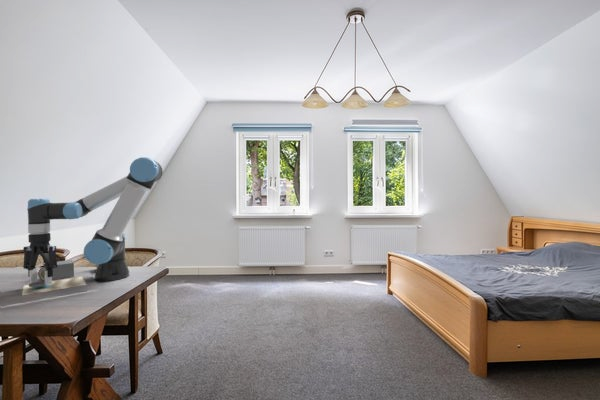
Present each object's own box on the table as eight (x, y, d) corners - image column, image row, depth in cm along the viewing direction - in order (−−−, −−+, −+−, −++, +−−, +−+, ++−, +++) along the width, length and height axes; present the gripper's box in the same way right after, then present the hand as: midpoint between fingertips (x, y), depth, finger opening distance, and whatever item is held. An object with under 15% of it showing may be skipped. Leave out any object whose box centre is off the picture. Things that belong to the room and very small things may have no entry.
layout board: (82, 278, 155) (82, 276, 155) (86, 286, 140) (86, 284, 140) (23, 287, 140) (23, 285, 140) (22, 297, 126) (22, 295, 126)
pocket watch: (26, 288, 131) (25, 265, 131) (32, 283, 139) (31, 261, 138) (50, 285, 135) (49, 263, 135) (55, 281, 143) (54, 259, 142)
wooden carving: (42, 271, 170) (42, 253, 170) (52, 269, 175) (51, 252, 174) (61, 274, 164) (60, 255, 164) (70, 272, 168) (70, 254, 168)
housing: (72, 274, 162) (72, 259, 162) (74, 278, 155) (73, 262, 155) (48, 278, 156) (47, 262, 156) (48, 282, 148) (48, 266, 148)
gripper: (67, 232, 139) (68, 282, 140) (27, 232, 141) (28, 281, 141) (52, 234, 132) (53, 286, 132) (10, 234, 133) (12, 286, 134)
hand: (40, 284), depth 137 cm, fingers closed on pocket watch, 7 cm apart
